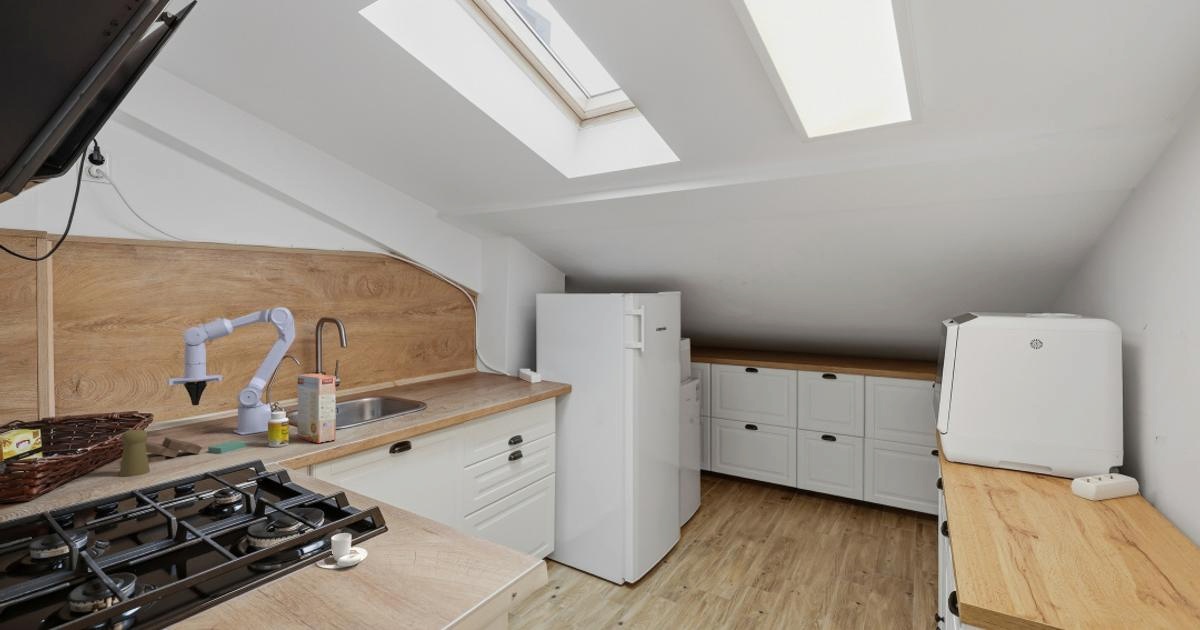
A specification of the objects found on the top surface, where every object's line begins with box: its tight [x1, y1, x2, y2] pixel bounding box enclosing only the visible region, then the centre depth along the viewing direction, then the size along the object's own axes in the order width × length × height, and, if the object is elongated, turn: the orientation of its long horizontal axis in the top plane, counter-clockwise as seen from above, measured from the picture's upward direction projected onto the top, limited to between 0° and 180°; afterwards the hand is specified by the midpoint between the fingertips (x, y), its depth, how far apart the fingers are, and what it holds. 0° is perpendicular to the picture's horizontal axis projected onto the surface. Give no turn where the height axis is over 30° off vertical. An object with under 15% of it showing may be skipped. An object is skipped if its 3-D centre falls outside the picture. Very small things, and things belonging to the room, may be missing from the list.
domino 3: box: [162, 437, 203, 455], centre depth 159 cm, size 2×5×8 cm
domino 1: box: [145, 440, 180, 458], centre depth 154 cm, size 2×5×8 cm
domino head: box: [207, 440, 247, 455], centre depth 165 cm, size 2×5×8 cm
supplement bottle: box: [267, 410, 290, 448], centre depth 170 cm, size 6×6×10 cm
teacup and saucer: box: [315, 532, 368, 570], centre depth 94 cm, size 9×8×4 cm
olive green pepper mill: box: [118, 429, 151, 477], centre depth 141 cm, size 6×6×11 cm
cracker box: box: [297, 372, 337, 444], centre depth 178 cm, size 14×6×21 cm, turn 53°
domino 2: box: [147, 453, 166, 464], centre depth 152 cm, size 2×5×8 cm
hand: (195, 404), depth 181 cm, fingers closed
